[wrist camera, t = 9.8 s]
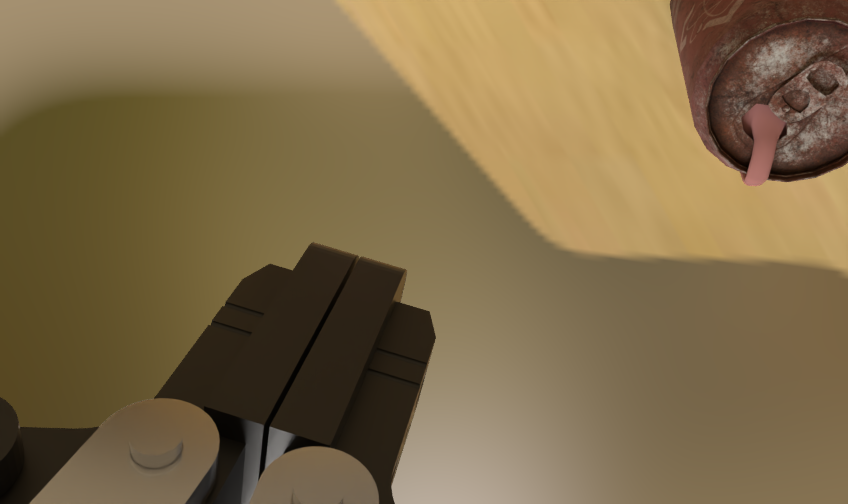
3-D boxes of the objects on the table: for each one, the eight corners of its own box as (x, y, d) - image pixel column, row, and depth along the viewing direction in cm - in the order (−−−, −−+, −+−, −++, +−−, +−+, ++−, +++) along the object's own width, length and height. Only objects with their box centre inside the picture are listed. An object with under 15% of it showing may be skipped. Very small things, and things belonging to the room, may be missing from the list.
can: (656, 58, 37) (674, 187, 25) (685, -80, 33) (721, -2, 22) (785, 70, 36) (863, 210, 24) (828, -71, 32) (944, 16, 21)
